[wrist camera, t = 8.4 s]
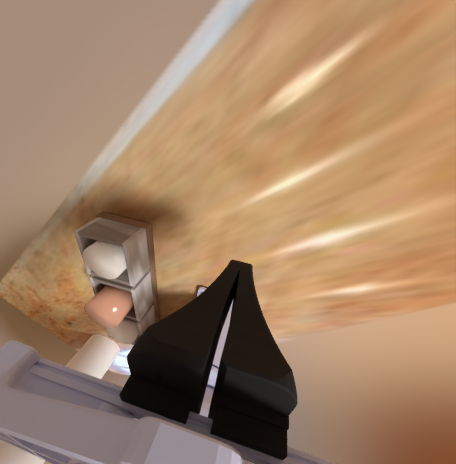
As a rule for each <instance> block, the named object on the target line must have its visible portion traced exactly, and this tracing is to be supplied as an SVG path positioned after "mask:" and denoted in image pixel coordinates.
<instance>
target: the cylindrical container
mask: <svg viewBox="0 0 456 464" xmlns="http://www.w3.org/2000/svg"><path fill="white" fill-rule="evenodd" d="M119 352H120V349H119V347H118V345H117V344H116V343H115V342H113V341H112V340H111V339H109V338H107V337H105V336H103V335H99V334H94V335H92V336H91V337H90V338H89V339H88V341H87V342H86V343H85V344H84V345H83V346H82V348H81V349H80V350H79V351H78V352H77V353H76V355H75V356H74V357H73V358H72V359H71V360H70V361H69V363H68V364H67V365H66V367H69V368H71V369H74V370H77V371H80V372H83V373H85V374H88V375H91V376H94V377H96V378H99V379H101V378H102V377H103V375H104V374H105V372H106V371H107V370H108V368H109V367H110V365H111V364H112V362H113V361H114V359H115V358H116V356H117V355H118V354H119ZM44 462H45V460H43V459H41V458H39V457H37V456H35V455H33V454H30V453H28V452H26V451H24V450H22V449H20V448H17V447H15V446H13V445H11V444H9V443H7V442H4V441H1V442H0V464H43V463H44Z"/></svg>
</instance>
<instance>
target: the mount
mask: <svg viewBox="0 0 456 464" xmlns="http://www.w3.org/2000/svg"><path fill="white" fill-rule="evenodd" d="M74 233H75V236H76V239H77V242H78V245H79V248H80V252H81V255H82V258H83V252H84V250H85V249H86V248H87V247H89V246H90V245H92V244H93V243H95V242H96V241H101V242H105V243H109V244H112V245H116V246H120V247H123V250H124V255H125V261H126V266H127V268H126V269H125V270H124V271H123V272H122V273H121V274H120V275H119V276H118V277H117V278H115V279H106V278H103V277H101V276H99V275H97V274H96V273H94V272H93V271H92V270H91V269H90V268H89V267H88V266H87V264H86V263H85V261H84V258H83V261H84V264H85V267H86V270H87V273H88V274H91V276H90V277H89V279H90V282H91V285H92V288H93V291H94V294H95V295H96V294H98V293H99V292H100V291H101V290H102V289H103V288H104V287H105V286H106V285H109V286H112V287H116V288H119V289H123V290H126V291H130V292H131V293H132V298H133V304H134V306H133V307H132V308H131V310H130V311H129V312H128V313H127V315H126V316H125V317H124V319H123V320H122V321H126V322H129V323H132V324H135V325H138V331H139V335H138V337H137V338H136V340H135V341H134V343H132V344H133V345H134V344H135V343H136V341H137V340H138V338H139V337H140V336H141V335H142V333H143V332H144V331H145V330H146V329H147V328H148V327H149V326H150V325H152V324H154V323H156V322H158V321H160V316H159V305H158V293H157V281H156V270H155V258H154V246H153V234H152V224H150V223H146V222H142V221H138V220H134V219H130V218H125V217H121V216H117V215H113V214H109V213H105V212H102V213H100V214H98V215H97V218H96V219H94V220H92V221H91V222H89V223H87V224H85V225H83V226H82V227H80V228H78V229H76V230H74ZM106 330H107V328H106ZM107 333H108V332H107ZM108 336H109V337H112V336H110V334H109V333H108ZM112 338H113V337H112Z"/></svg>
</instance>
